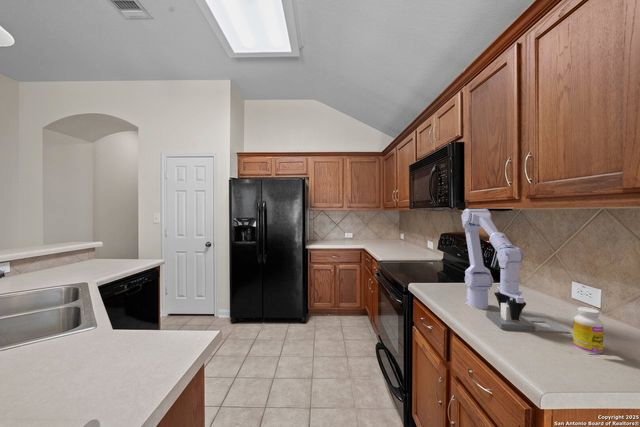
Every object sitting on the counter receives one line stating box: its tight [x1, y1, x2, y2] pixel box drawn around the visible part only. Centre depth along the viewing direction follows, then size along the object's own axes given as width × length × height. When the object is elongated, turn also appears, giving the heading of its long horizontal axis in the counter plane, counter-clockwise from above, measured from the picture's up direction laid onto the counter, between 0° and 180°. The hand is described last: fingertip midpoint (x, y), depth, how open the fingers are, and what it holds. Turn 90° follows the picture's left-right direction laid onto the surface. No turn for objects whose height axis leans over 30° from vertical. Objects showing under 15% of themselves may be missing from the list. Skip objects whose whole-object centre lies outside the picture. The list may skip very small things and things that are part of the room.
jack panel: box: [485, 310, 571, 334], centre depth 102 cm, size 12×22×3 cm, turn 82°
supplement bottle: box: [572, 306, 604, 356], centre depth 85 cm, size 7×7×13 cm
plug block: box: [500, 302, 518, 321], centre depth 103 cm, size 4×4×8 cm
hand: (509, 315), depth 103 cm, fingers open, 7 cm apart
